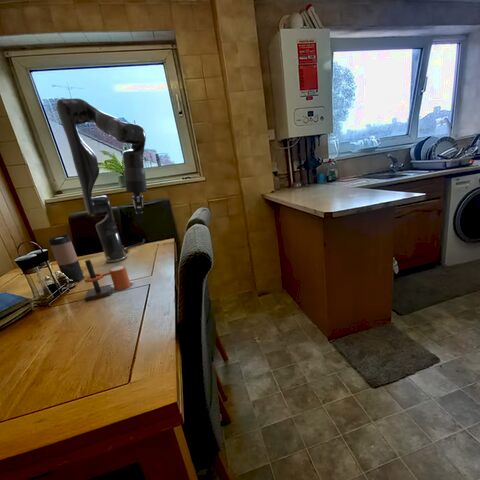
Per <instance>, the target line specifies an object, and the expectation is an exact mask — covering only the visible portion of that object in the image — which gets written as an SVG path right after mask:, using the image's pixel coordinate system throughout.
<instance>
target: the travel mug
mask: <svg viewBox="0 0 480 480" xmlns="http://www.w3.org/2000/svg"><path fill="white" fill-rule="evenodd" d="M48 243H49V245H50V247H51V251H52V254H53V256H54V258H55V261H56V264H57V266H58V268H59V270H60V273H61V272H62V273H64V274H65V275H66V276H67V277H68V278H69V279H73V281H70V282H69V283H68V284H73V283H76V282H80V281H82V280H84V278H85V277H84V273H83V271H82V267H81V264H80V261H79V259H78V255H77V253H76V251H75V248H74V245H73V243H72V240H71V238H70V235H69V234H63V235H58V236H57V235H56V236H53V237H50V238H49V239H48ZM62 273H61V274H62Z"/></svg>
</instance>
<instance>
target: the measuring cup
mask: <svg viewBox="0 0 480 480" xmlns="http://www.w3.org/2000/svg"><path fill="white" fill-rule="evenodd" d="M95 275H96V278H93V279H91V277H90V275H88V276H85V277H84V278H83V280H84V283H92V282H94V281H97V280H98V281H100V280H101V279H103V278H104V277H107V276H110V278H111V281H112V284H113V287H114V290H115V291H122V290H125V289H128V288H130V287H131V281H130V277H129V273H128V271H127V268H126V265H117V266H114V267H111V268H110V269H109V270H108V271H107V272H104V273H95Z"/></svg>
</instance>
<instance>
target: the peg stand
mask: <svg viewBox="0 0 480 480" xmlns="http://www.w3.org/2000/svg"><path fill="white" fill-rule="evenodd" d="M84 263H85V266H86V268H87V272H88V275H89V276H90V277H91V278H90V279H93V278H97V277H96V275H95V274H96V272H95V268H94V266H93V263H92V261H91V259H86V260H84ZM91 283H92V286H93V288H90V289H88V290H87V292H86V294H85V297H84V299H85V302H89V301H94V300H97V299H101V298H105V297H109V296H111V292H112V289H113V288H112V285H111V284H107V285H103V286H100V284H99V283H100V282H99V280H97V281H94V282H91Z"/></svg>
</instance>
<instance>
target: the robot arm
mask: <svg viewBox="0 0 480 480" xmlns="http://www.w3.org/2000/svg"><path fill="white" fill-rule="evenodd" d="M56 111H57V114H58V117H59V120H60V123H61V126H62V128H63V131H64V134H65V136H66V139H67V143H68V147H69V149H70V153H71V157H72V161H73V164H74V168H75V172H76V174H77V178H78V181H79V184H80V189H81V193H82V196H83V197H82V198H83V202H84V207H85V209H86V212H87V215H89V217H100V216H105V217H104V218H103V219H102V220H101V221H99V222H97V223H96V224H95V229H96V232H97V235H98V238H99V242H100V244H101V248H102V251H103V253H104V257H105V261H106V263H116V262H119V261H123V260H125V259H126V258H127V256H126V254H128V253H129V251H128V250H129V249H131V248H134V247H138V246H141V245H143V244H145V242H146V239H145V238H142V242H140V243H136V244H132V245H129V246H127V247H125V246H124V245H123V244H122V240H121V237H120V233H119V230H118V226H117V223H116V220H115V216H114V212H113V208H112V204H111V201H110V198H109V197H108V196H107V195H98V196H92V195H93V189H94V186H95V184H96V181H97V180H98V177H99V175H100V166H99V162H98V158H97V155H96V154H95V152H94V151H93V150H92V148H90V147H89V145H87V144H86V143H85V141H83V138H81V136H80V134H79V131H78V128H77V125H85V124H94V126H95V127H96V128H97V129H98V131H100V132H102V133H104V134H106V135H108V136H110V137H112V138H114V139H115V140H116V141H117V142H119V143H121V144H131V145H130V148H129V149H127V150H124V151H123V152H122V161H123V174H124V183H125V191H126V192H127V193H132V196H131V200H132V205H133V208H134V209H135V217H136V222H137V223H144V214H143V213H144V197H143V195H141V193H146V192H147V191H148V190H147V179H146V171H145V165H144V154H145V146H146V140H147V139H146V138H147V137H146V132H145V129H144V128H143V127H142V125H140V124H137V123H132V122H126V121H122V120H121V119H120V118H118V117H116V116H113V115H111V114H108V113H105V112H103V111H102V110H99V109H98V108H97V107H95V106H94V105H92V104H90V103H89V102H88V101H86V100H84V99H81V98H61V99H57V101H56Z"/></svg>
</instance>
